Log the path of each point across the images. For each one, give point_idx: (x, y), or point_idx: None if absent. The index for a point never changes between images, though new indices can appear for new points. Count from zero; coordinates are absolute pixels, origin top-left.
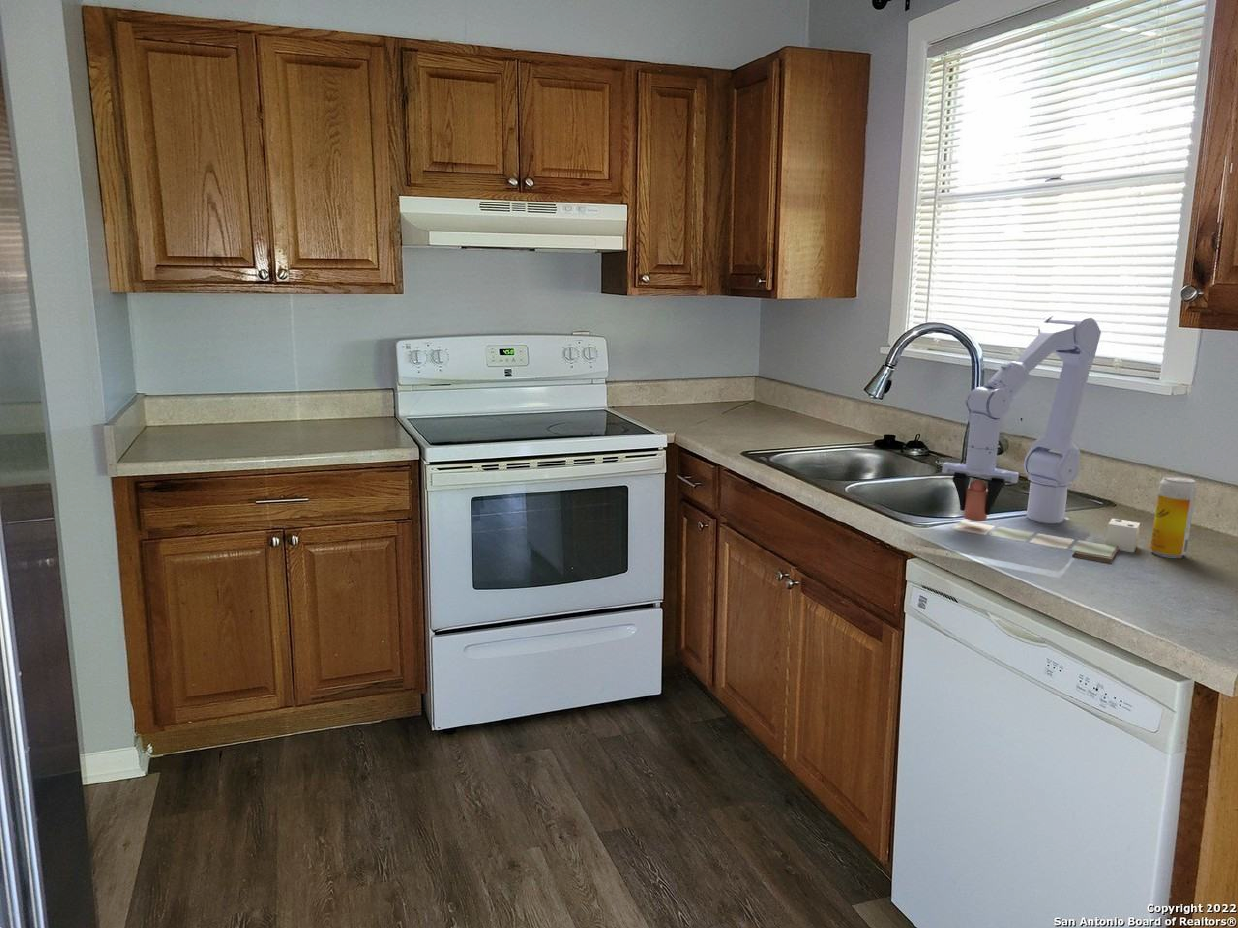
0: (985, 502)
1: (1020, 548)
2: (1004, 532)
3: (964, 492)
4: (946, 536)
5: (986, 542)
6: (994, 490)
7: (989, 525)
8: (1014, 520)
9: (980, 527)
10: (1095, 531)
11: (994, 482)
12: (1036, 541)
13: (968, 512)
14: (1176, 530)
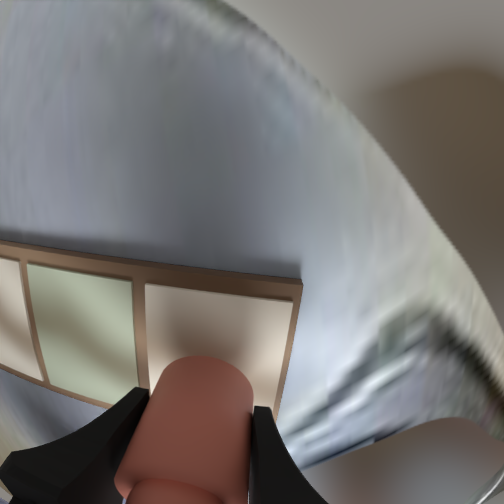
0: (135, 430)
1: (40, 228)
2: (103, 350)
3: (256, 481)
4: (300, 235)
5: (138, 237)
6: (49, 454)
7: None
8: None
9: None
10: (22, 448)
11: (27, 491)
12: (11, 287)
13: (224, 384)
14: None
